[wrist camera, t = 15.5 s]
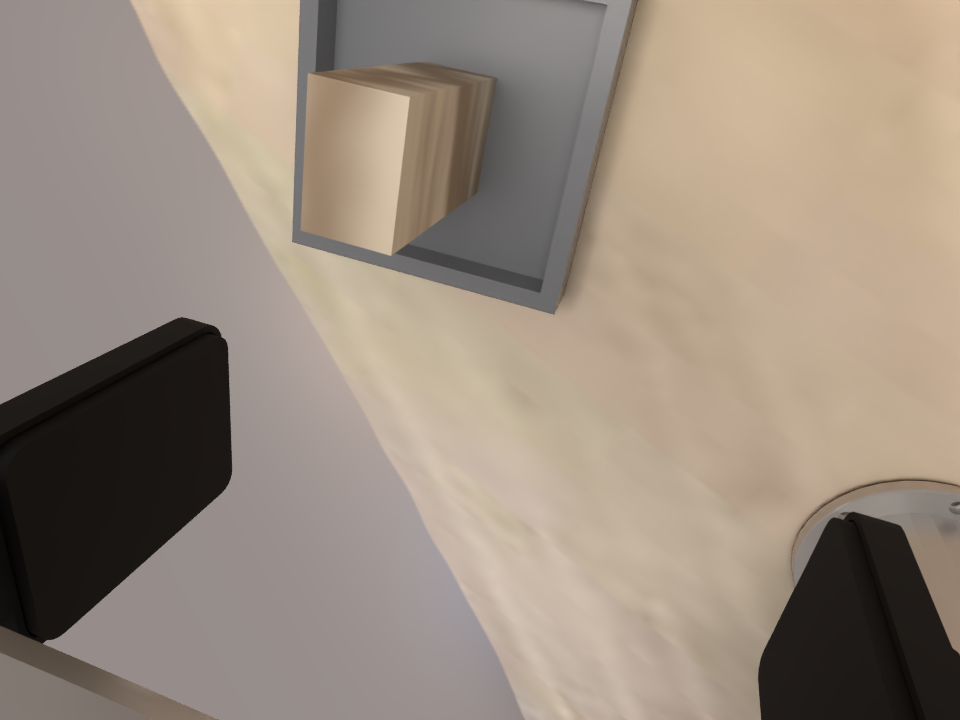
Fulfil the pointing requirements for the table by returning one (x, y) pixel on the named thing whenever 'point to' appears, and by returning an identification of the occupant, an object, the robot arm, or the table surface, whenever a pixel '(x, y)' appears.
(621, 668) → the table surface
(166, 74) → the table surface
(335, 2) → the grey tray
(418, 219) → the birch block
